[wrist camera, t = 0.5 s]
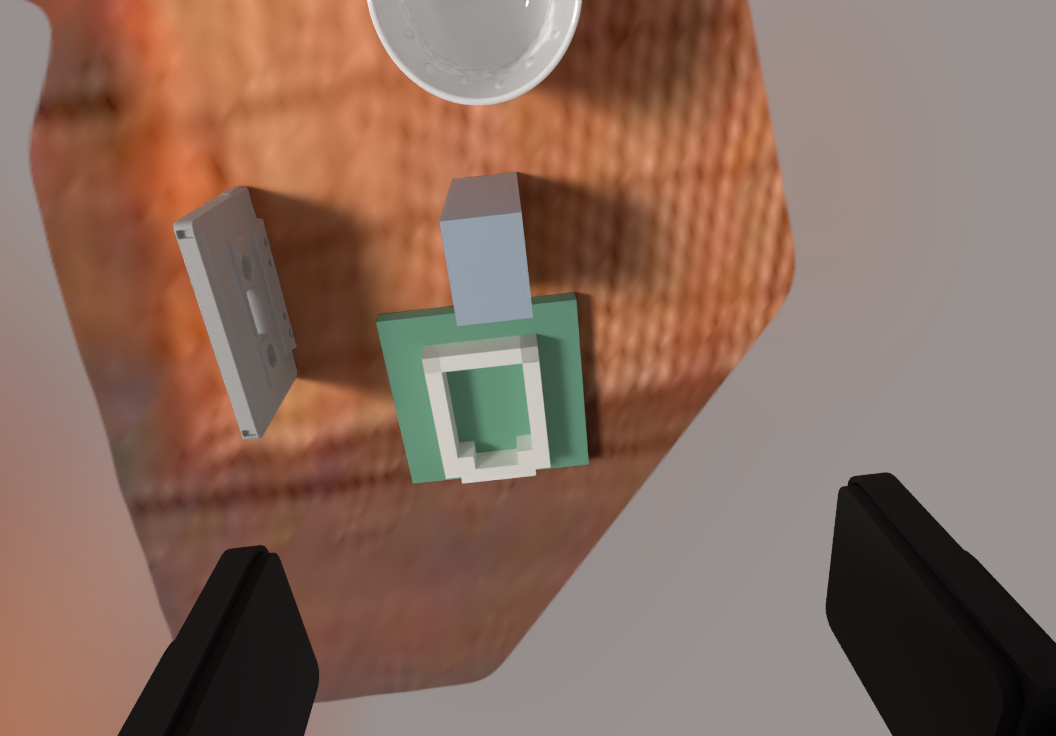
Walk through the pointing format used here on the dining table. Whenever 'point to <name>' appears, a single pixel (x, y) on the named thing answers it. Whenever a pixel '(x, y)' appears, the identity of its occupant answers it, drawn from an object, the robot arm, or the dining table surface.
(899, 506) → the robot arm
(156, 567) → the dining table surface
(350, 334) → the dining table surface
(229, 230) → the cassette
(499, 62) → the white cup
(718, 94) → the dining table surface
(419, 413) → the header board
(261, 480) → the dining table surface
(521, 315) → the plug
